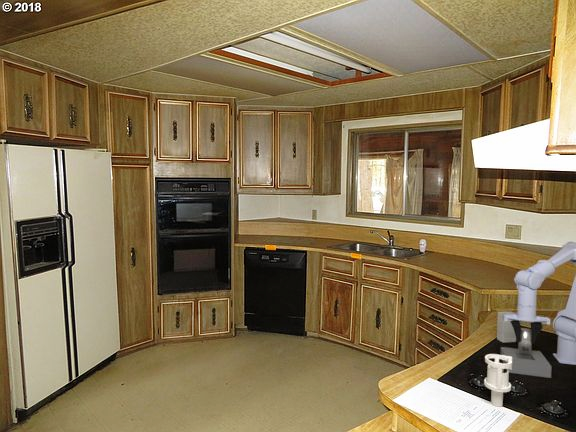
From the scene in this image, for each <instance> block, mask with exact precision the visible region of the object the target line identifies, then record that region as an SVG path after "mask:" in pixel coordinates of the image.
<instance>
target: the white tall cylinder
mask: <svg viewBox="0 0 576 432" xmlns="http://www.w3.org/2000/svg"><path fill="white" fill-rule="evenodd" d="M490 359H494V361H492V360H490ZM500 360H501V361H502V360H505V361H507V362H508V363H506V364H504V363H503V362H500ZM484 362H485V363H486V364H487V371H486V372H487V375H486V376H487V377H485V378H484V382H483V384H484V387H486V388H487V389H489V390H491V393H490V394H491V396H490V397H491V399H490V404H491V405H492V406H493V407H497V408H502V407H503V401H504V393H508V392H510V391H511V390H512V384H511V382H509V377H510V376H509V375H510V373H509V371H508V370H506V369H510V370H512V357H511V356H505V355H501V354H497V353H489V354H485V356H484ZM504 370H506V372H504Z"/></svg>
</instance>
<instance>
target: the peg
mask: <svg viewBox="0 0 576 432" xmlns="http://www.w3.org/2000/svg"><path fill="white" fill-rule="evenodd" d="M517 345H518V348H517V349H520V350H523V351H531V350H532V346H533V345H532V330H531V328H527V327H521V331H520V342H518V343H517Z"/></svg>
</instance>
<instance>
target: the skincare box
mask: <svg viewBox="0 0 576 432" xmlns="http://www.w3.org/2000/svg"><path fill="white" fill-rule="evenodd" d="M503 314H507V315H508V314H516V313H515V312H513V311H511V310H510V311H497V322H496V323H497V326H496V328H497V329H496V339H497V340H498V341H499V342H501V343H516V342H517V341H516V335H515V332H514V329H513V326H512V324H511V322H510V321H504V320H503Z"/></svg>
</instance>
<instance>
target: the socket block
mask: <svg viewBox="0 0 576 432" xmlns="http://www.w3.org/2000/svg"><path fill="white" fill-rule="evenodd" d="M500 355H505V356H511V357H512V370H510V369H505V371H507V370H508V371H509V374H510V373H511V374H518V375H525V376H533V377H541V378H547V379H548V378H550V379H551V378H552V365H551V364H550V362H549V361H548V360H547V358H546V357H545V356H544V355H543V353H542V352H541V351H540V350H532V349H531V351H523V350H520V349H519V348H515V347H514V348H513V347H506V346H504V347H503V346H500ZM501 361H502V364H506V363H508V362H507V361H505V360H502V359H501Z"/></svg>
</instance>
